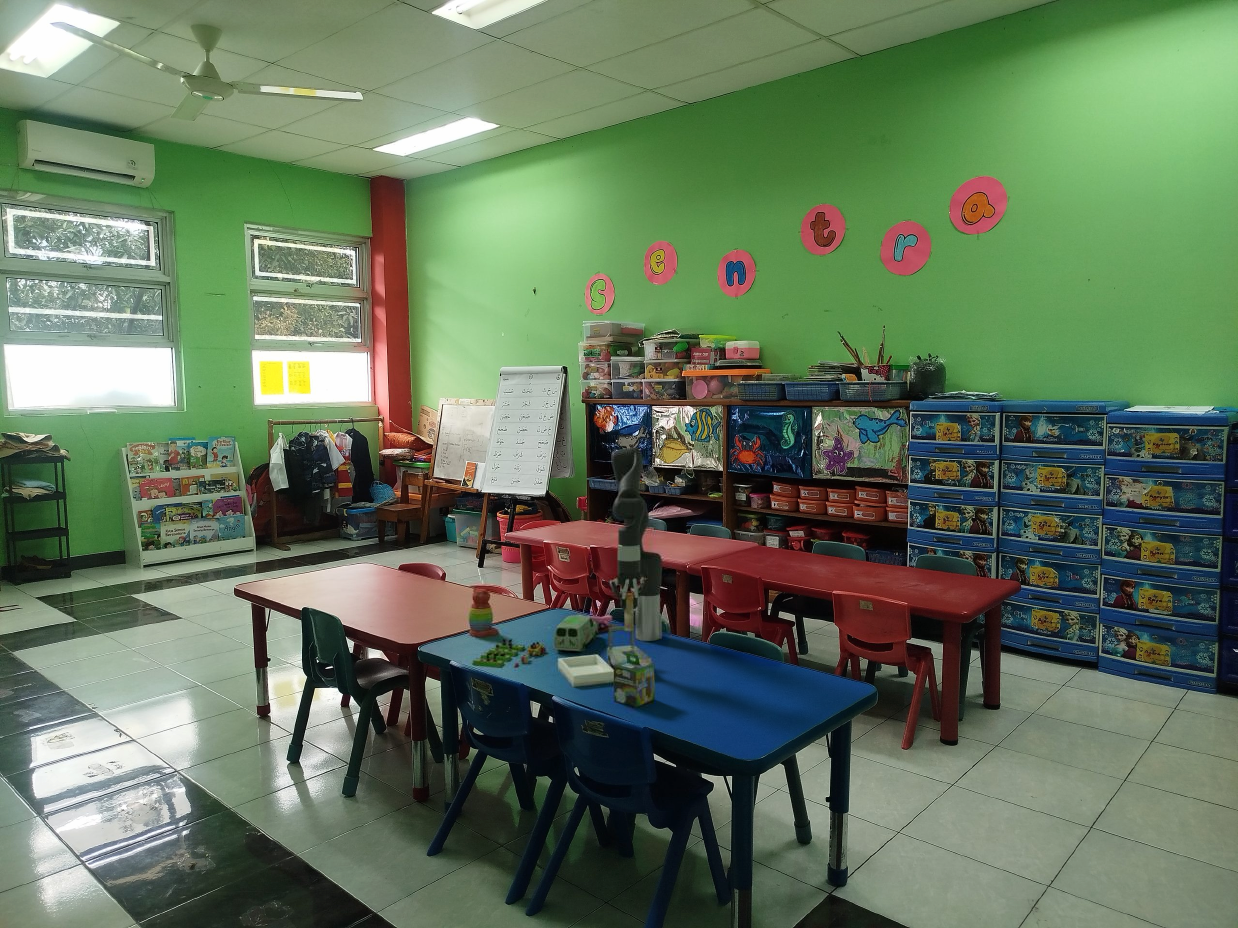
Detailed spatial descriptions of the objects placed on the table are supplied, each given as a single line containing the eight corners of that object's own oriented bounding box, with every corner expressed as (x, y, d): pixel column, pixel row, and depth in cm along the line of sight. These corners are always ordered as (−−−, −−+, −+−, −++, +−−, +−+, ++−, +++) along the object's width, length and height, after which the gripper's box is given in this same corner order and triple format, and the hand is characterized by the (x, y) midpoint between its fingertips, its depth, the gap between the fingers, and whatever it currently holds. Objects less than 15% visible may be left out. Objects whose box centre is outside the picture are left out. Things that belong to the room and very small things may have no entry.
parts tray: (597, 664, 286) (597, 654, 286) (615, 681, 268) (615, 671, 268) (558, 668, 281) (558, 658, 281) (573, 686, 263) (573, 675, 263)
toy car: (598, 636, 321) (598, 611, 320) (580, 655, 297) (580, 627, 296) (572, 634, 323) (571, 609, 322) (552, 653, 299) (552, 626, 298)
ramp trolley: (634, 661, 289) (634, 625, 288) (651, 676, 274) (651, 637, 273) (607, 664, 285) (607, 627, 284) (622, 679, 270) (622, 640, 269)
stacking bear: (500, 632, 326) (500, 587, 324) (483, 638, 317) (482, 592, 316) (480, 628, 331) (479, 584, 330) (462, 634, 323) (461, 589, 321)
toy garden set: (499, 647, 308) (499, 635, 307) (548, 651, 302) (547, 639, 302) (472, 666, 285) (472, 653, 285) (524, 671, 280) (524, 657, 280)
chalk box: (655, 699, 252) (655, 651, 251) (636, 708, 245) (636, 659, 244) (631, 692, 258) (631, 646, 257) (612, 701, 251) (612, 653, 250)
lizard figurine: (563, 630, 330) (563, 612, 330) (602, 622, 343) (602, 604, 342) (586, 638, 319) (586, 620, 318) (626, 629, 332) (626, 611, 331)
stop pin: (631, 628, 280) (631, 593, 280) (635, 630, 278) (635, 595, 277) (623, 628, 279) (623, 593, 278) (626, 631, 277) (626, 595, 276)
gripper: (644, 554, 282) (644, 604, 284) (605, 557, 278) (605, 608, 279) (652, 558, 275) (652, 609, 277) (612, 561, 271) (612, 613, 272)
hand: (628, 608), depth 278 cm, fingers closed on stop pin, 3 cm apart
